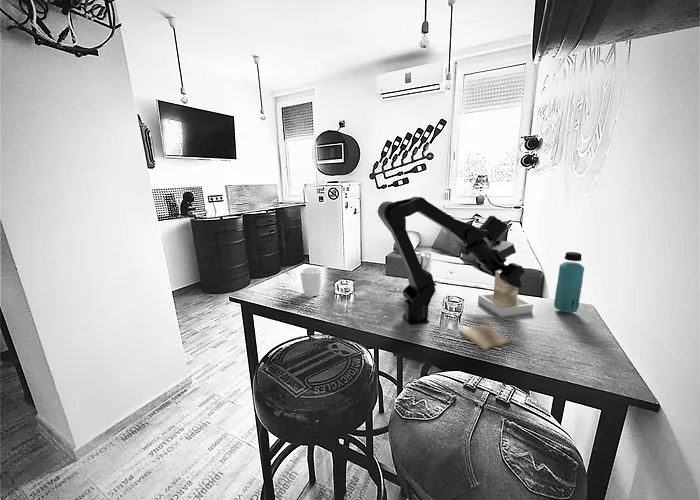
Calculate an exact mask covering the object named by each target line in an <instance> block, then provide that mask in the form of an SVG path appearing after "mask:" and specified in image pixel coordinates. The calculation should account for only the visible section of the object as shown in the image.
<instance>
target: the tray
mask: <svg viewBox="0 0 700 500" xmlns="http://www.w3.org/2000/svg"><path fill="white" fill-rule="evenodd" d="M493 294H494V292H492V293H491V292H490V293H483V294H478V299H477V300H478V301H477V303H478V304H479V305H480V306H482V307H484V308H485V309H487V310H488V311H490V312H491V313H493V314H494V315H495V316H498V317H499V318H507V317H513V316H521V315H523V316H524V315H529V314H533V308H534V304H532V303H531V302H529V301H527V300H525V299H523V298H521V297H519V296H517V303H516V306H509V307H500V306H498V305H497V304H495V303H494V302H493Z"/></svg>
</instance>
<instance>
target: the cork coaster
mask: <svg viewBox="0 0 700 500" xmlns="http://www.w3.org/2000/svg"><path fill="white" fill-rule="evenodd" d="M459 334H460V335H462V336H463V337H465V338H466V339H468V340H469V341H471V343H473V344H475V345H477V346H478V347H480V348H481V349H483V350H484V351H486V350H489V349H492V348H496V347H499V346H502V345H506V344H508V343H510V342H511V338H509V337H507V336H505V335H503V334H502V333H500V332H498V331H497V330H495V329H493V328H492V327H490V326H487V325H486V324H481V325H477V326H473V327H470V328H466V329H462V330H460V333H459Z"/></svg>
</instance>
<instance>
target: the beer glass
mask: <svg viewBox="0 0 700 500" xmlns="http://www.w3.org/2000/svg"><path fill="white" fill-rule="evenodd" d="M415 253H416V255H417V258H418V260H419V263H420V265H421V267H422V269H425V270H426V271H428V272H429V273H431V271H432V254H431V253H429V252H425V251H424V252H423V251H420V252H415Z"/></svg>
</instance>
